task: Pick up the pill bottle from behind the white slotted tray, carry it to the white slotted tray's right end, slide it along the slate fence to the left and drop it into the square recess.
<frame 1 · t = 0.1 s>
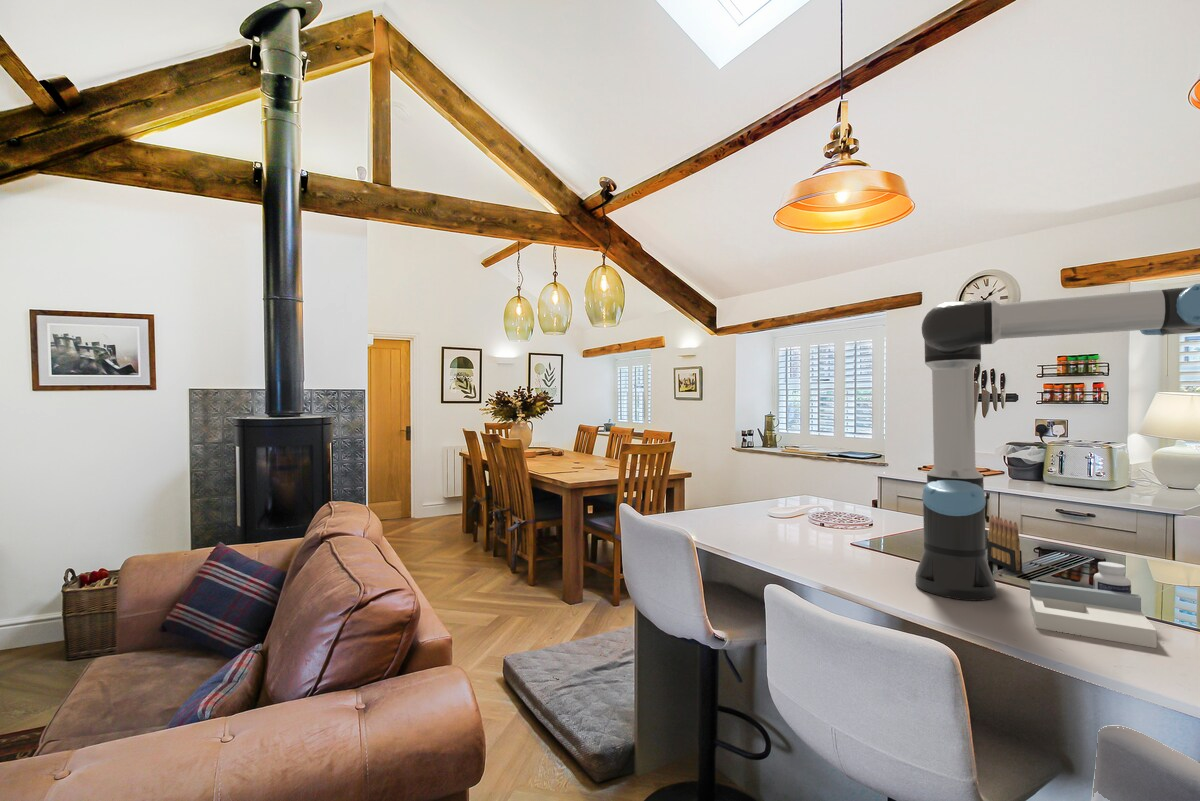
white slotted tray: (1087, 626, 103), on the table
pill bottle: (1112, 615, 109), on the table
ammunition clip: (1004, 566, 142), on the table
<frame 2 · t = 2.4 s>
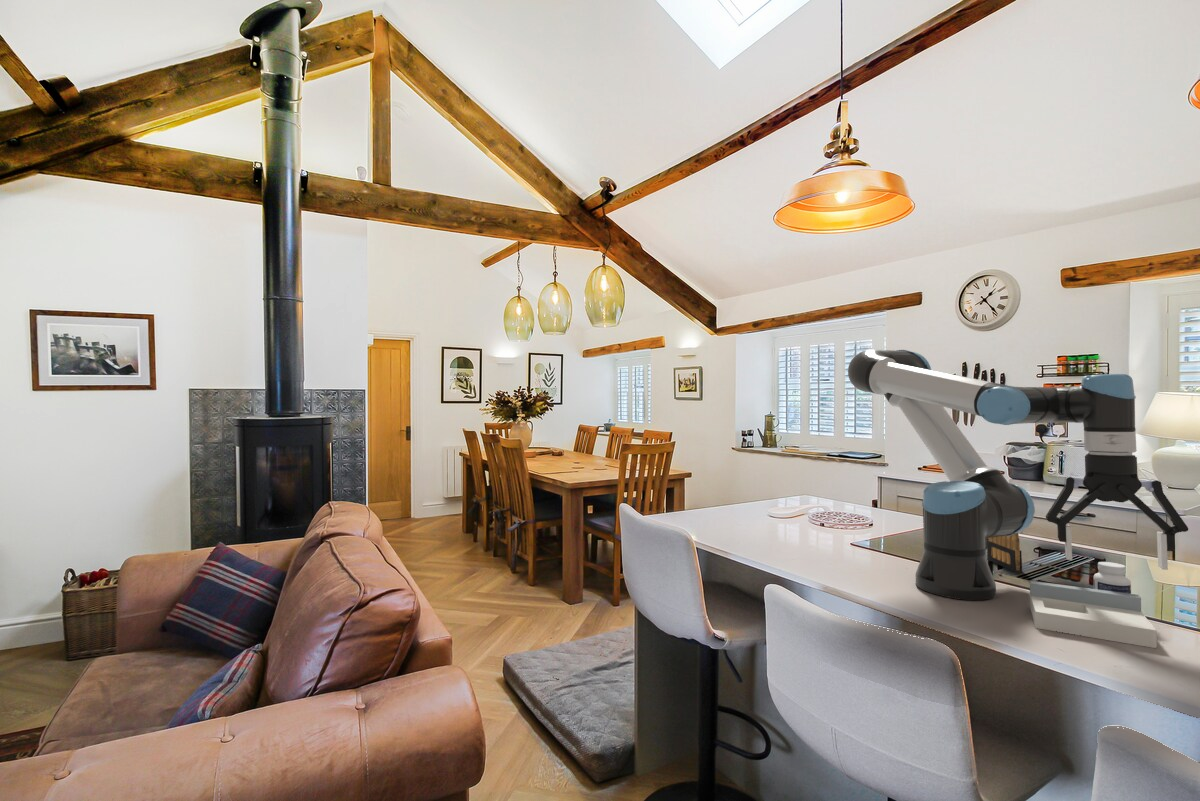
hand: (1114, 563, 108), 10 cm above the table, fingers open, 13 cm apart
nothing on the table moved.
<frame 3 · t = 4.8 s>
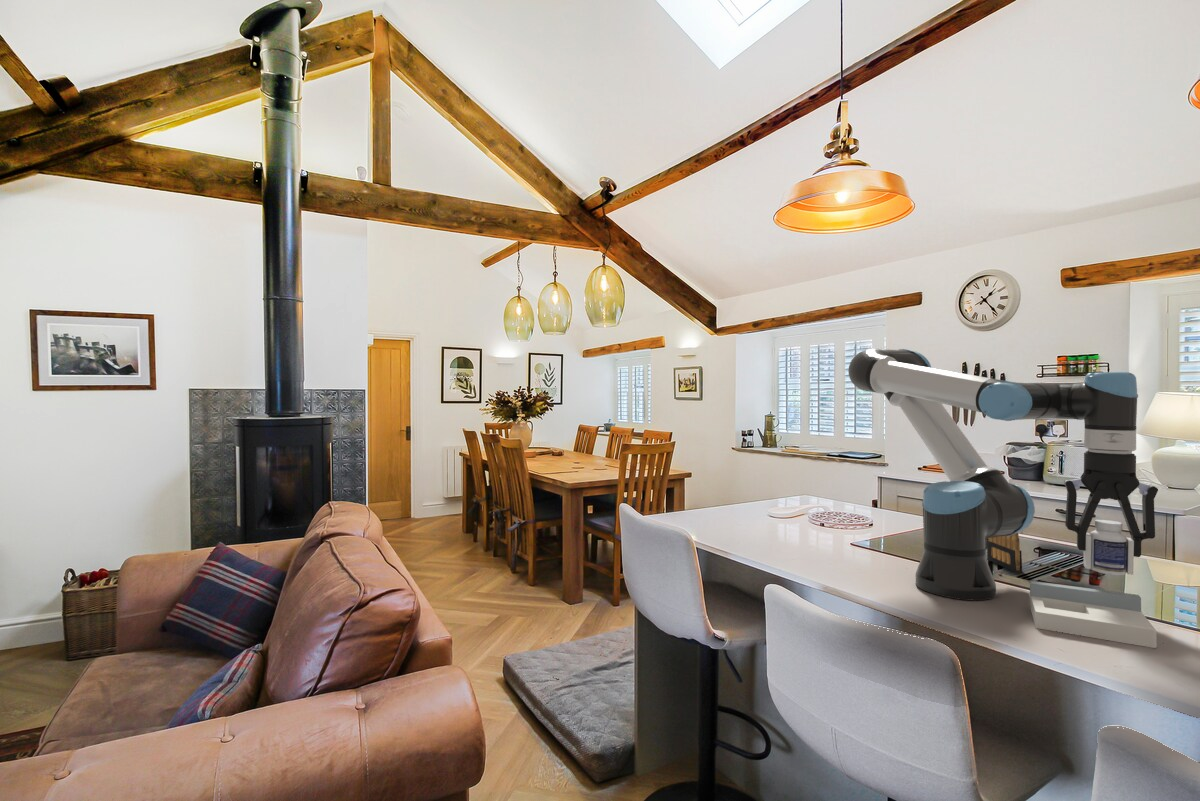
hand: (1107, 569, 109), 9 cm above the table, fingers closed on pill bottle, 5 cm apart
pill bottle: (1107, 572, 109), point 8 cm above the table, touching gripper
everything else where it was.
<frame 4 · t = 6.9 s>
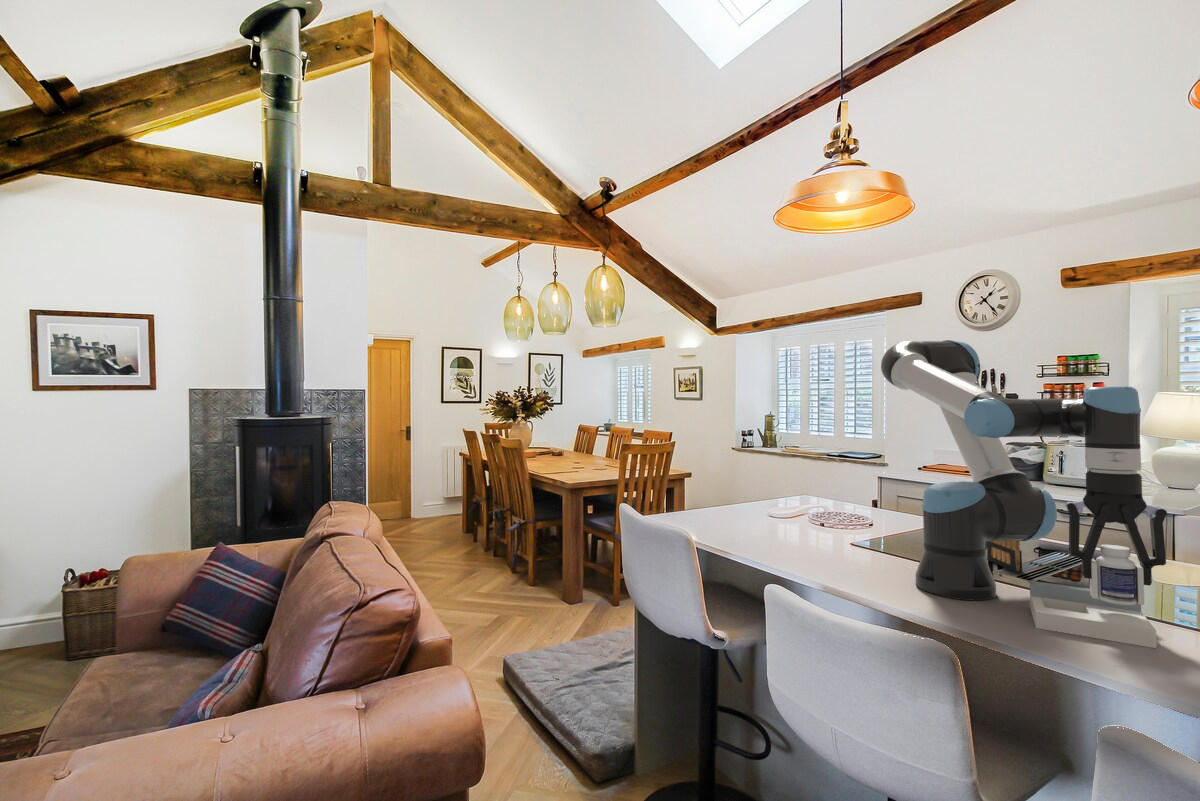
hand: (1116, 599, 101), 6 cm above the table, fingers closed on pill bottle, 5 cm apart
pill bottle: (1116, 601, 101), point 5 cm above the table, touching gripper
everything else where it was.
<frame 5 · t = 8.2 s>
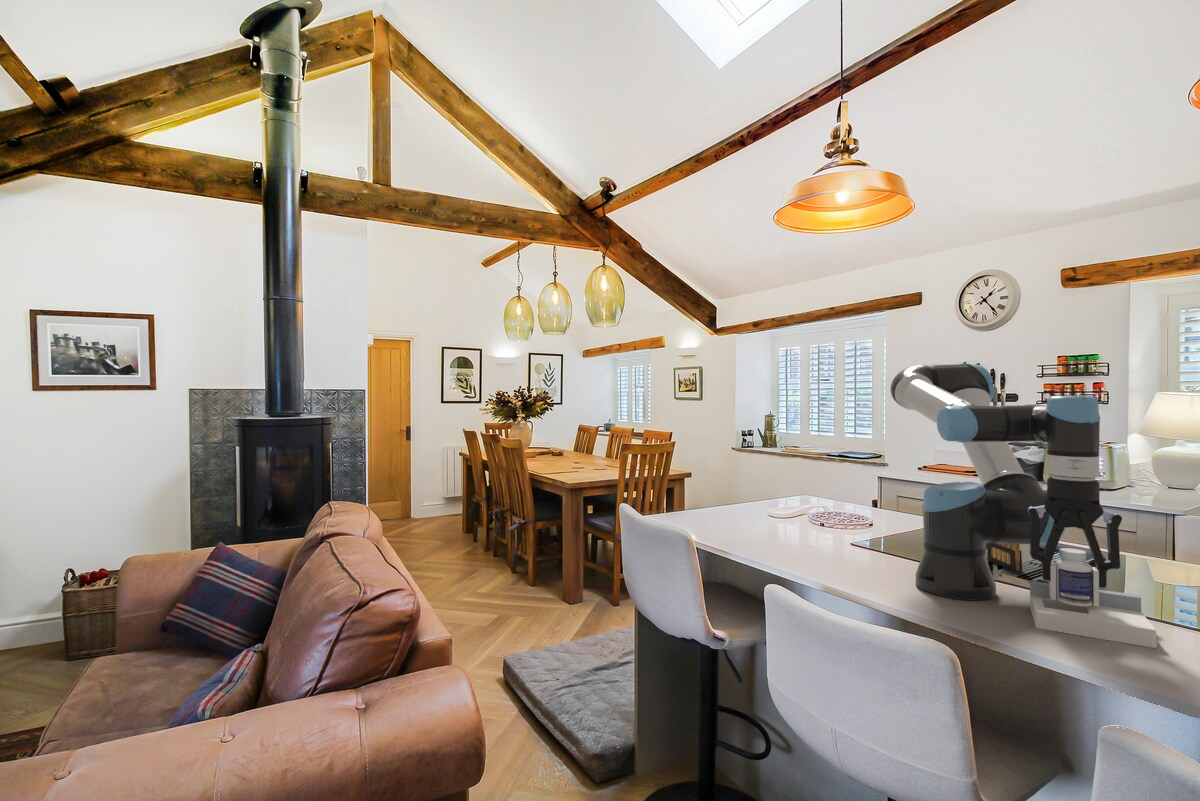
hand: (1073, 600, 105), 4 cm above the table, fingers closed on pill bottle, 5 cm apart
pill bottle: (1073, 603, 105), point 3 cm above the table, touching gripper
everything else where it was.
when the fingers open (4 cm above the table, at t = 9.2 s): pill bottle drops 3 cm, resting on white slotted tray.
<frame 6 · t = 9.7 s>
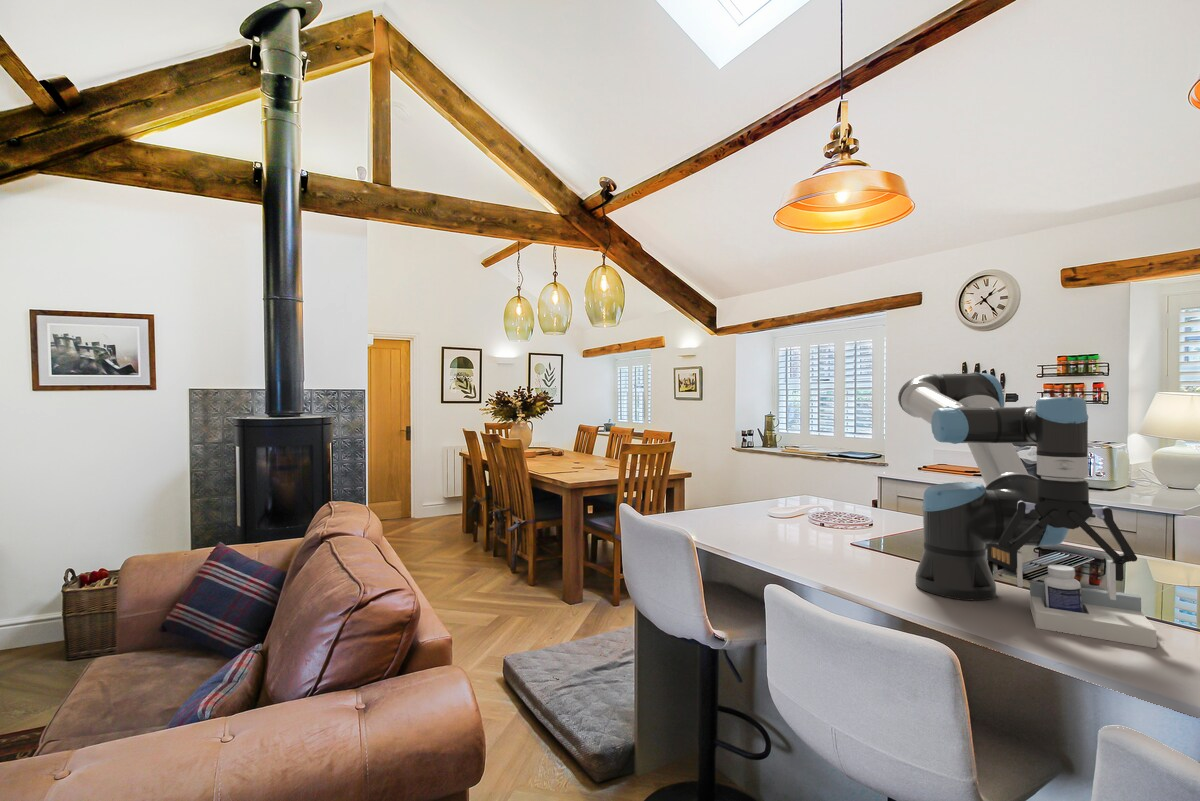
hand: (1064, 591, 106), 6 cm above the table, fingers open, 13 cm apart
pill bottle: (1064, 620, 105), resting on white slotted tray
everything else where it was.
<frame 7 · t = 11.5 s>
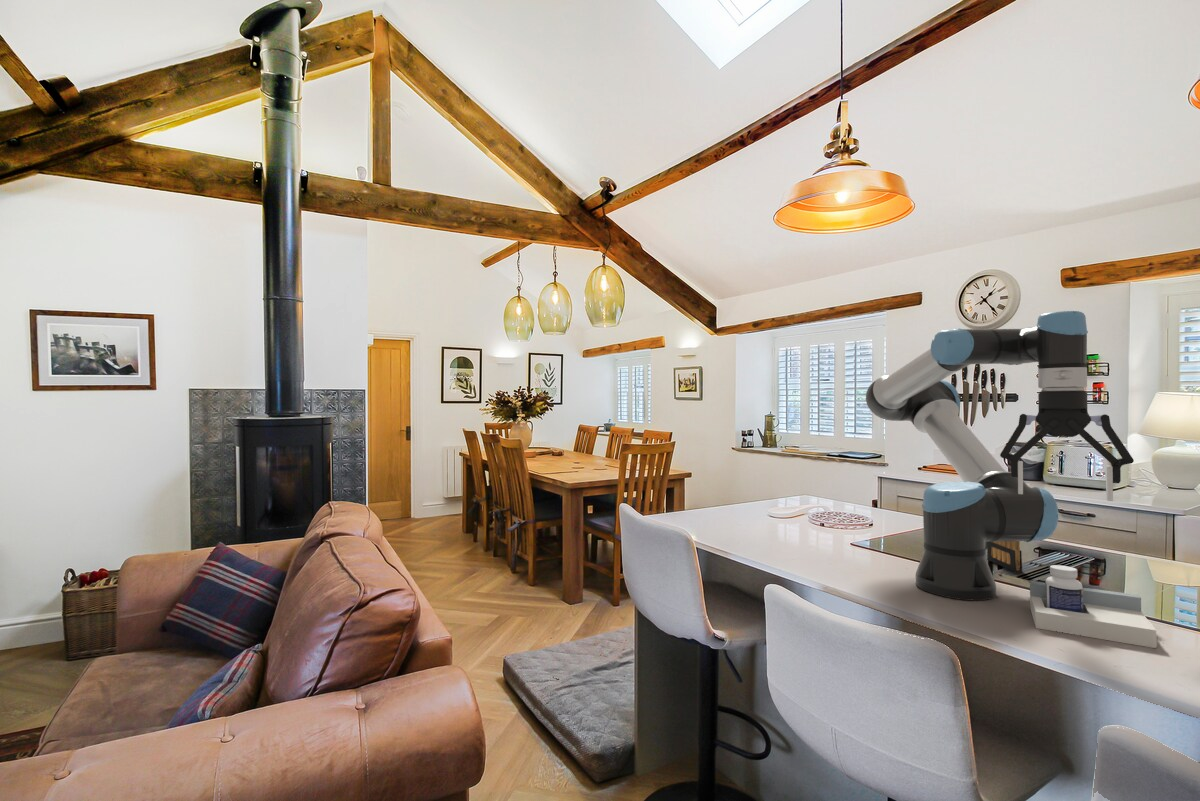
hand: (1063, 496, 111), 23 cm above the table, fingers open, 13 cm apart
nothing on the table moved.
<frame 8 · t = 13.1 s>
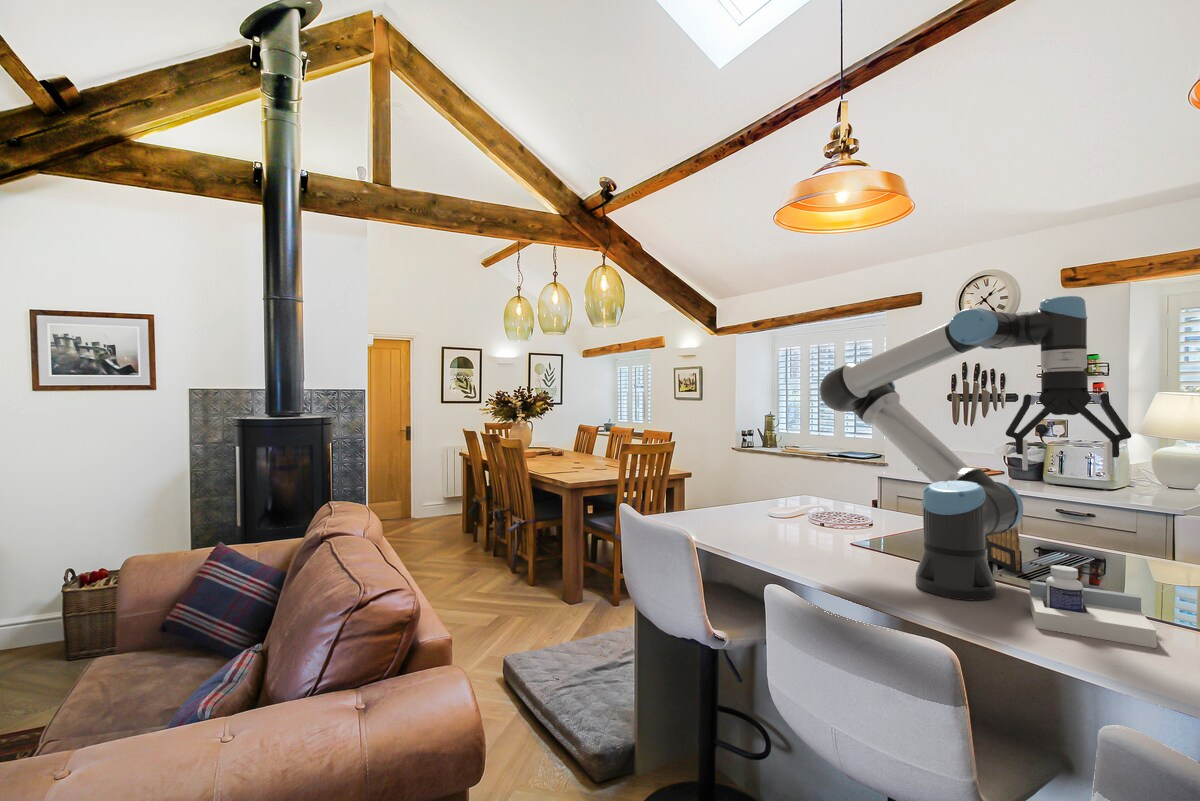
hand: (1065, 471, 118), 27 cm above the table, fingers open, 13 cm apart
nothing on the table moved.
at the end: pill bottle 0.1 cm from the target spot, resting on white slotted tray; pill bottle tilted 0°; the gripper is holding nothing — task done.
